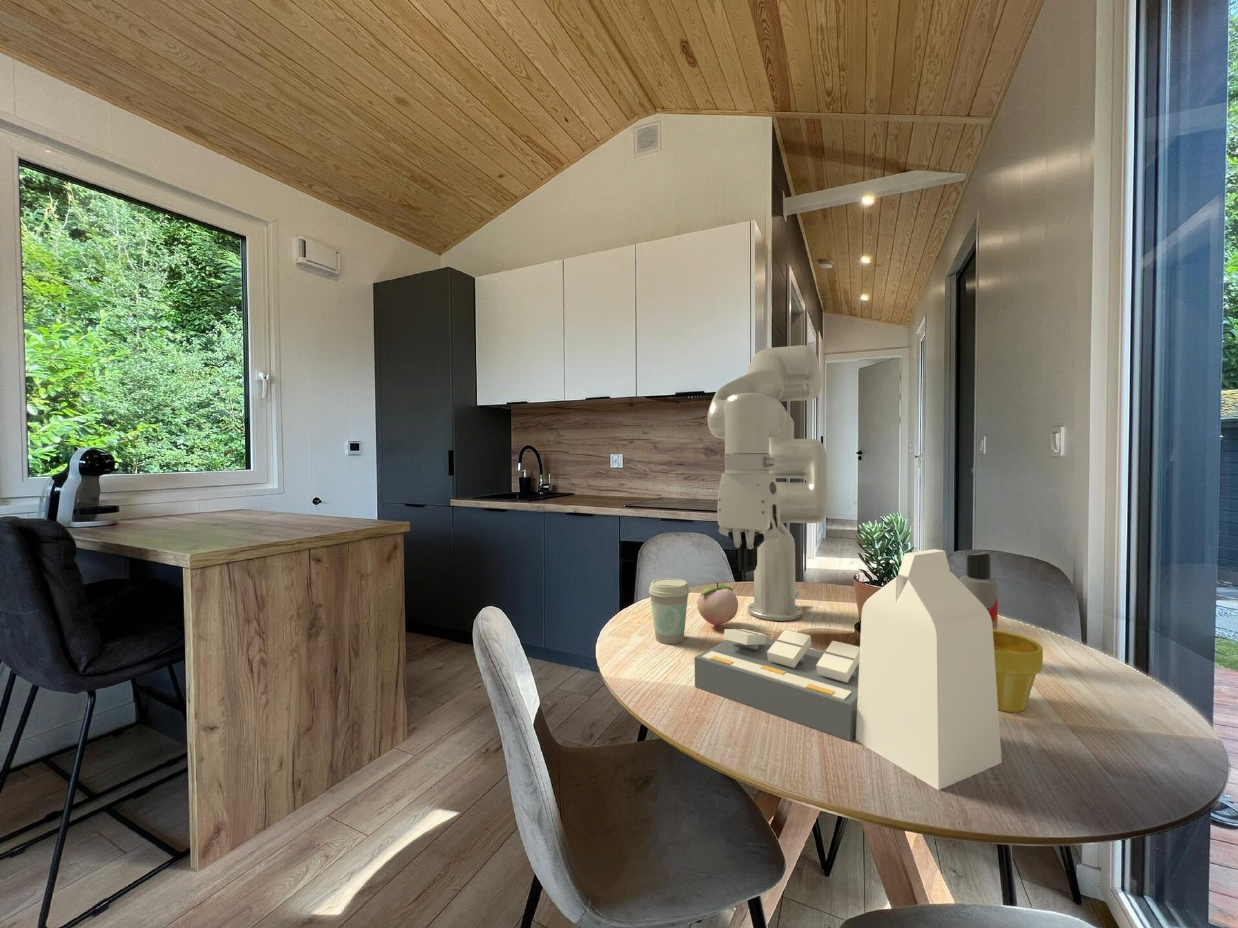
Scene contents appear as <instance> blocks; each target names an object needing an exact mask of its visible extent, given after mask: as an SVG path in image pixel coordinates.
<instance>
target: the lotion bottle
mask: <svg viewBox="0 0 1238 928" xmlns="http://www.w3.org/2000/svg"><path fill="white" fill-rule="evenodd" d="M965 571H966V573H965V575H961V576H960V578H959V580H960V581H961V582H962V583H963V584H964V586H965V587H966V588H967V589H968V590H969V591H970V592H971V593H972V594H973V595H974V596H975V597H976V598H977V599H978V600H979V601H980V602H981V603H982V604H983V605H984V606H985V608H986V609H987V611H988V612H989V614H990V616H991V620H992V626H993V630H999V628H998V617H999V616H998V612H999V610H998V606H999V605H998V600H999V599H998V593H999V591H998V590H999V589H998V580H997V579H995V578H993V577H992V556H991V555H990V554H989V552H980V551H979V552H977V551H975V552H974V551H973V552H969V553H967V554H965Z"/></svg>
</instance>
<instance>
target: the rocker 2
mask: <svg viewBox="0 0 1238 928" xmlns="http://www.w3.org/2000/svg"><path fill="white" fill-rule="evenodd" d="M775 640H776V641H775V643H774V644H773V645H772V646H771V647H770V649H769V650H768V651H767V657H768V661H771V662H775V663H779V664H782V665H786V666H789V667H793V668H795V666H796V665H797V663H798V662H799V661H800V659H801V658H802V657H803V655H804V654H805V652H806V651H807V650H808V648H810V647H811V645H812V637H811V635H809V634H806V633H801V632H797V631H793V630H787V629H785V630H783V631H782V633H781V634H780V635H779V636H778V637H777V639H775Z"/></svg>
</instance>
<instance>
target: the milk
mask: <svg viewBox="0 0 1238 928" xmlns="http://www.w3.org/2000/svg"><path fill="white" fill-rule="evenodd" d="M950 570H951V569H950V566H949V562H948V558H947V554H946V551H945V550H941V549H938V548H937V549H936V548H934V549H926V550H920V551H913V552H912V551H911V552H906V553H904V555H903V559H902V562H901V564H900V567H899V571H898V574H897V576H894V578H893V579H891V580H890V581H889V582H887V583H886V584H885V585H884V586H882V587H881V588H880V589H879V590H877V591H876V592H875V593H873V594H871V596H869V598H867V600H865V602H864V603H863V605H862V608H861V616H860V617H861V618H860V621H861V622H860V640H859V641H860V643H859V647H860V659H859V680H858V702H857V723H856V735H855V741H856V742H857V743H859V744H861V745H863V746H864V747H866V748H867V749H870V750H872V752H874V753H876V754H878V755H880V756H881V757H882V758H884V759H886V760H888V761H890V762H891V763H893V764H895V765H896V766H898V767H899V768H901V769H903V770H904V771H906V772H908V773H909V774H911V775H913V776H914V777H916V778H917V779H919V780H921V781H923V782H924V783H926V784H928V786H930V787H933V788H934V789H935V790H937V791H940V790H942V788H943V789H945V788H947V787H949V785H950V786H952V785H954V784H956V782H957V783H959V782H961V781H963V780H962V779H964V780H965V779H968V778H970V777H972V776H973V777H974V775H977V774H980V773H982V772H984V771H987V770H989V769H991V768H993V766H994V767H996V766H998V765H1000V764H999V763H1001V764H1002V763H1003V762H1002V761H1003V760H1002V746H1001V745H1002V744H1001V732H1000V731H1001V730H1000V718H999V710H998V700H997V685H996V671H995V656H994V641H993V626H992V620H991V616H990V614H989V612H988V611H987V609H986V608H985V606H984V605H983V604H982V603H981V602H980V601H979V600H978V599H977V598H976V597H975V596H974V595H973V594H972V593H971V592H970V591H969V590H968V589H967V588H966V587H965V586H964V584H963V583H962V582H961V581H960V578H958V577H957V576H956V575H955V574H954V573H953V572H952V571H950ZM995 765H996V766H995ZM990 767H991V768H990ZM988 768H989V769H988ZM986 769H987V770H986ZM979 772H980V773H979ZM967 777H968V778H967ZM958 781H959V782H958Z"/></svg>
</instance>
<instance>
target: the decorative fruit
mask: <svg viewBox="0 0 1238 928" xmlns="http://www.w3.org/2000/svg"><path fill="white" fill-rule="evenodd" d="M696 606H697V611H698V612H699V614H700V616H701V617H702V618H703V620H705V621H706V622H707V623H709V624H710V625H712V626H714V627H717V628H719V627H720V626H722V625H723V624H726V623H728V622H730V621H731V620H732V619H734V618H735V616H737V613H738V609H739V600H738V597H737V596H736V594H735V593H734V592H733V588H731V586H728V585H723V584H720V585H719V582H718V581H717V582H716V586H715V587H714V586H712V587H710V586H709V587H706V588H704V589H703V590H702V591H701V593H700V594H699V596H698V598H697V601H696Z"/></svg>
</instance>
